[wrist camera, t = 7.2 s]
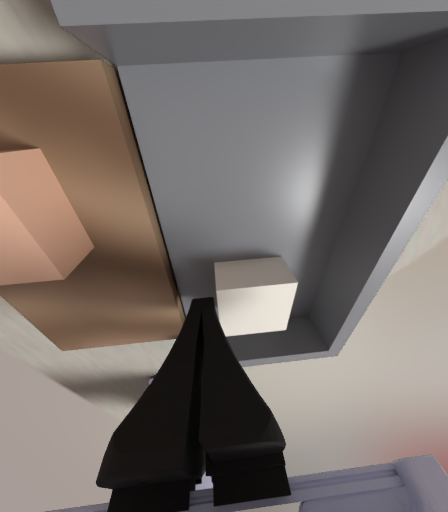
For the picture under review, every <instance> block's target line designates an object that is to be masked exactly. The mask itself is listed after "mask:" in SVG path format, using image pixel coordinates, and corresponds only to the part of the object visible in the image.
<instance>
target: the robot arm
mask: <svg viewBox="0 0 448 512" xmlns="http://www.w3.org/2000/svg"><path fill="white" fill-rule="evenodd" d="M285 446H286V443H285V439H284V436H283V434H282V432H281V429H280V427H279V425H278V423H277V421H276V419H275V417H274V415H273V413H272V411H271V410H270V408H269V407H268V406H267V404H266V403H265V402H264V400H263V399H262V397H261V396H260V395H259V393H258V391H257V390H256V389H255V387H254V385H253V384H252V383H251V381H250V379H249V378H248V376H247V374H246V373H245V371H244V370H243V368H242V366H241V365H240V363H239V361H238V359H237V358H236V356H235V354H234V352H233V350H232V348H231V346H230V344H229V342H228V340H227V338H226V336H225V334H224V331H223V329H222V327H221V324H220V321H219V319H218V316H217V313H216V309H215V305H214V298H213V297H206V298H196V299H192V301H191V305H190V308H189V311H188V314H187V316H186V319H185V321H184V324H183V326H182V328H181V331H180V333H179V335H178V337H177V339H176V341H175V343H174V345H173V347H172V349H171V351H170V352H169V354H168V356H167V358H166V359H165V361H164V363H163V365H162V366H161V368H160V369H159V371H158V373H157V374H156V376H155V377H154V378H151V379H150V380H149V386H148V388H147V389H146V390H145V392H144V393H143V395H142V396H141V397H140V399H139V400H138V402H137V403H136V404H135V406H134V407H133V408H132V410H131V411H130V412H129V414H128V415H127V416H126V417H125V419H124V420H123V421H122V422H121V424H120V425H119V426H118V428H117V429H116V430H115V432H114V433H113V435H112V437H111V439H110V442H109V444H108V447H107V450H106V452H105V454H104V457H103V461H102V464H101V467H100V470H99V474H98V477H97V480H96V484H97V486H98V487H102V488H108V489H113V491H112V495H111V499H110V502H109V503H103V504H96V505H89V506H82V507H75V508H68V509H60V510H54V511H46V512H235V511H240V510H247V509H254V508H260V507H266V506H273V505H281V504H287V503H294V502H301V501H303V502H301V504H300V506H299V512H448V475H447V474H446V473H445V471H444V470H443V468H442V467H441V466H440V464H439V463H438V461H437V460H436V458H435V457H434V456H432V455H423V456H415V457H409V458H403V459H399V460H395V461H393V463H386V464H378V465H371V466H365V467H358V468H351V469H343V470H337V471H329V472H322V473H315V474H308V475H301V476H294V477H287V474H286V469H285V460H284V456H283V450H284V449H285Z"/></svg>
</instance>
